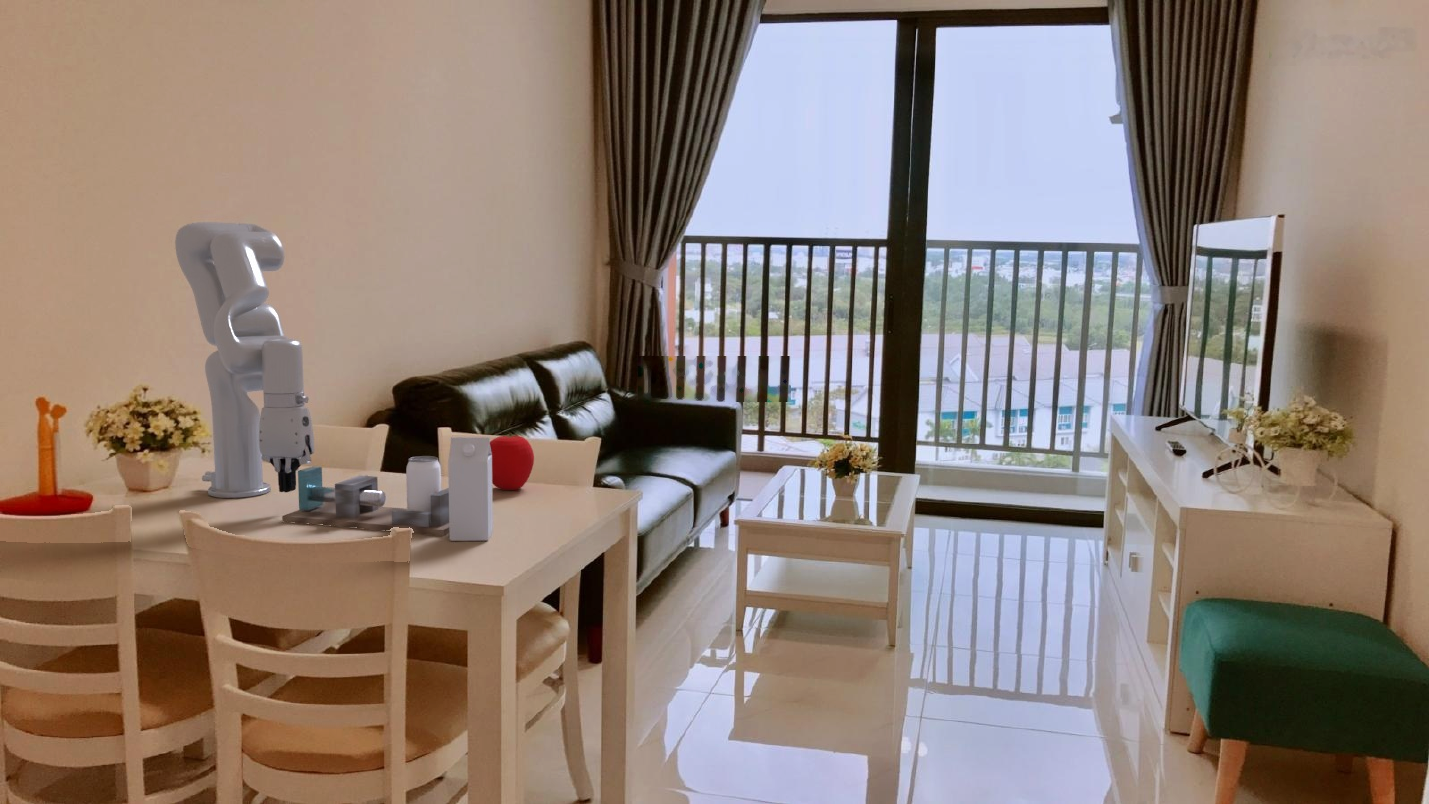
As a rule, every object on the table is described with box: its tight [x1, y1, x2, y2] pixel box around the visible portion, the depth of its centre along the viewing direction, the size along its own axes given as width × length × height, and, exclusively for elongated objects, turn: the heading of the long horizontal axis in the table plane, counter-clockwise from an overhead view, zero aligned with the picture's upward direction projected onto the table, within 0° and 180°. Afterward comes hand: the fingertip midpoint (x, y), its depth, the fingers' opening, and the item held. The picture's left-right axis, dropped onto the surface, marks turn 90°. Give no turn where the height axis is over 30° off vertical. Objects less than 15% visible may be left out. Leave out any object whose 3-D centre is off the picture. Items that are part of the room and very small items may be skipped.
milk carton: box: [447, 436, 494, 542], centre depth 205 cm, size 7×7×19 cm
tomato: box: [490, 432, 535, 491], centre depth 246 cm, size 11×11×13 cm
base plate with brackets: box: [281, 475, 450, 537], centre depth 216 cm, size 35×13×8 cm, turn 75°
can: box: [405, 455, 442, 512], centre depth 213 cm, size 6×6×12 cm
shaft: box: [297, 466, 387, 511], centre depth 218 cm, size 17×5×8 cm, turn 75°
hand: (287, 490), depth 221 cm, fingers closed
